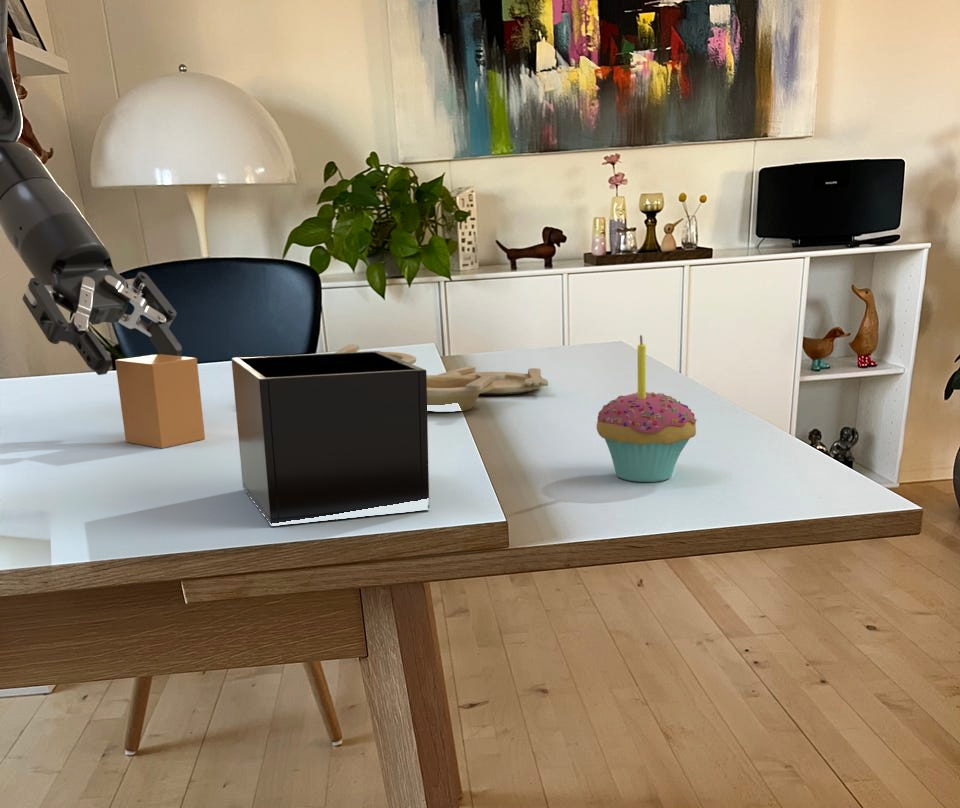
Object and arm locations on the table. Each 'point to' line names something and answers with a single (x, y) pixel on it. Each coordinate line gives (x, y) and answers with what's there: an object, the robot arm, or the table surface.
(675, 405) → the cupcake
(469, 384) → the tableware set
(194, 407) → the tan cardboard block
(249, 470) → the trash can
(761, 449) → the table surface
